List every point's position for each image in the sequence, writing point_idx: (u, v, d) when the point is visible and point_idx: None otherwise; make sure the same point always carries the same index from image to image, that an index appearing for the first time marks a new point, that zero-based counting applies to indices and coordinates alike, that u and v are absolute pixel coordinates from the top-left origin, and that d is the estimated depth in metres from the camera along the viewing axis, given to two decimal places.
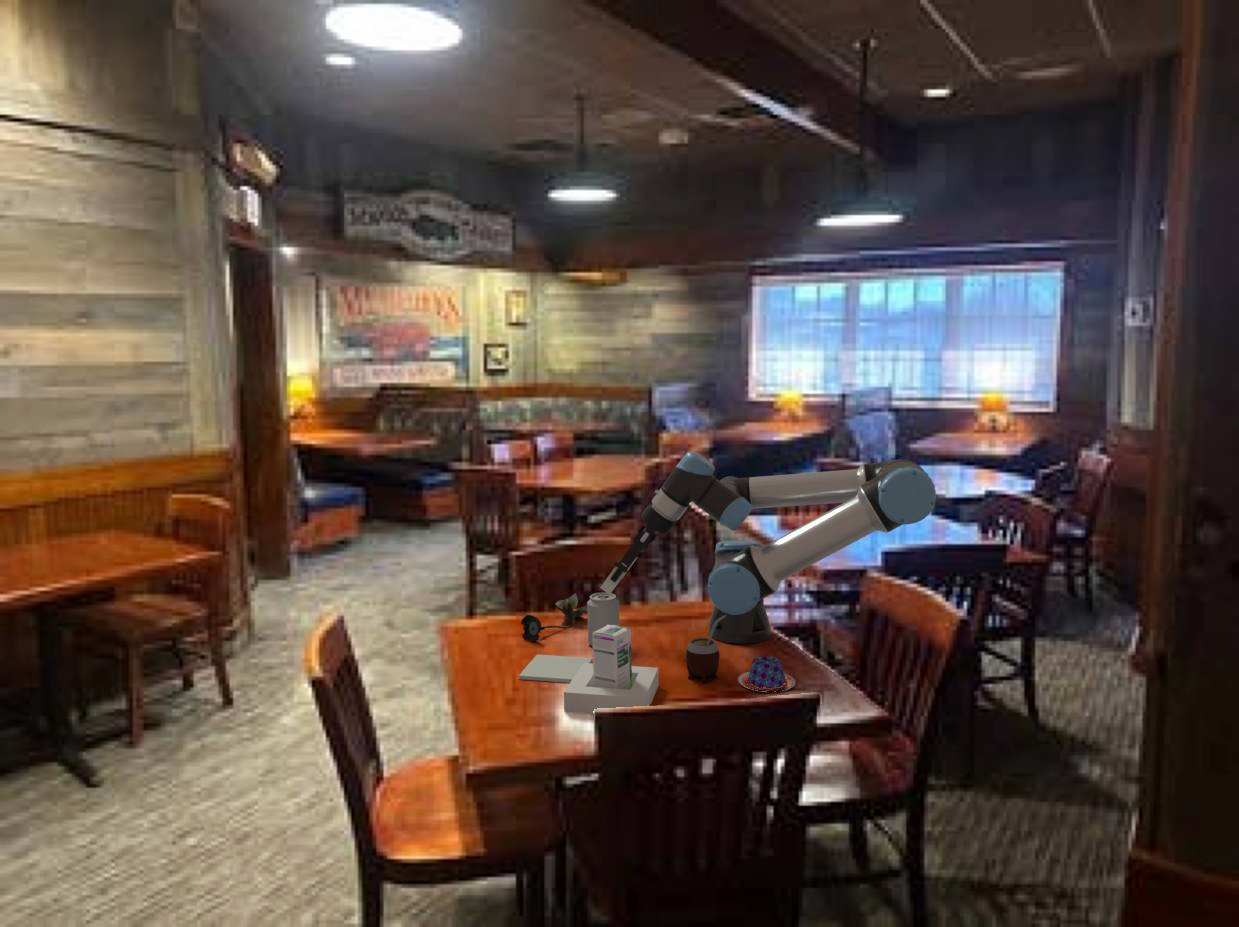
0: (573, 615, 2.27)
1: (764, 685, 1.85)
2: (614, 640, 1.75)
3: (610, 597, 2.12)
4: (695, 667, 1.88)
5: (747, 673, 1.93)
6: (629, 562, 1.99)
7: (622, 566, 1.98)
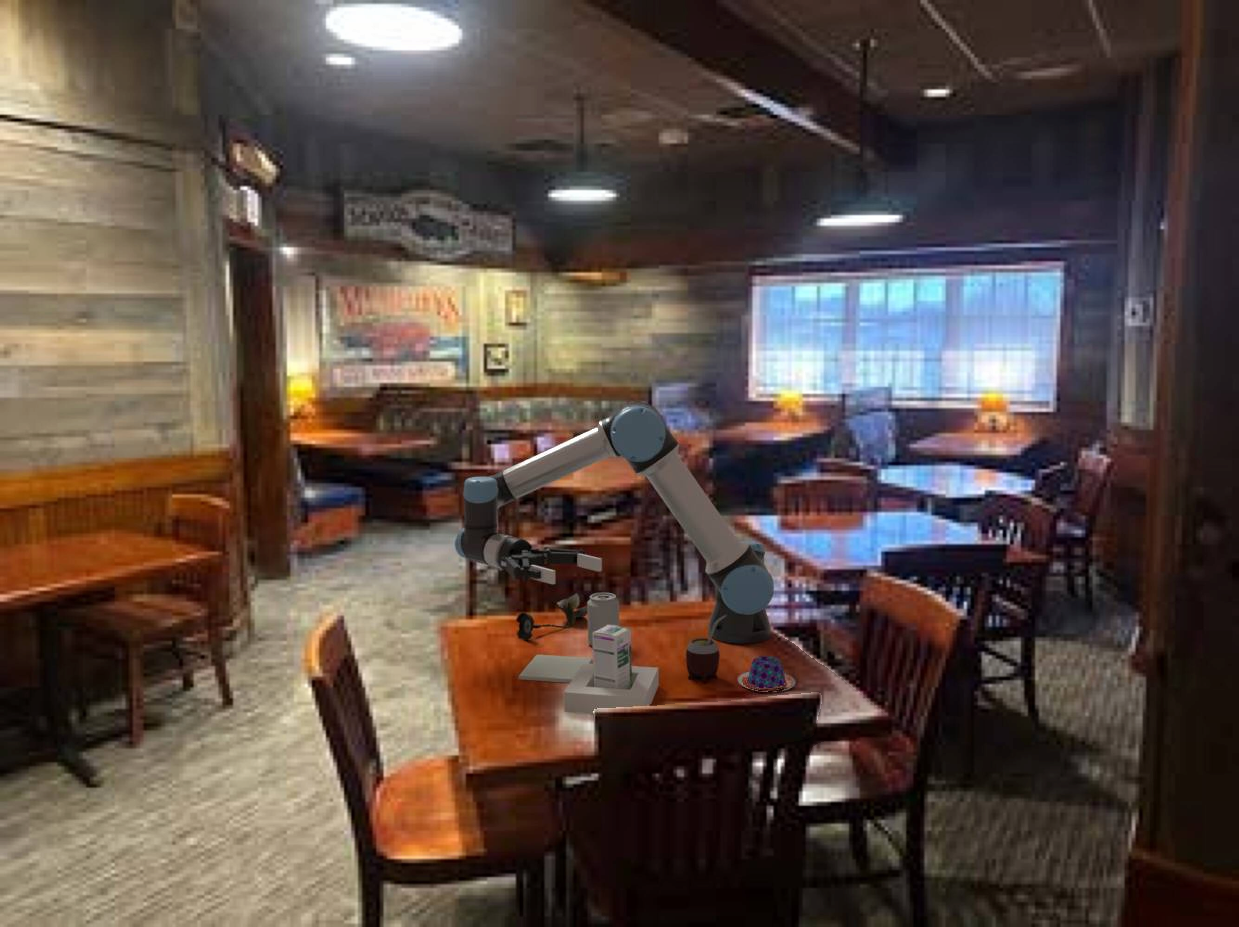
0: (573, 615, 2.27)
1: (764, 685, 1.85)
2: (614, 640, 1.75)
3: (610, 597, 2.12)
4: (695, 667, 1.88)
5: (746, 673, 1.93)
6: (512, 567, 1.84)
7: (514, 573, 1.82)
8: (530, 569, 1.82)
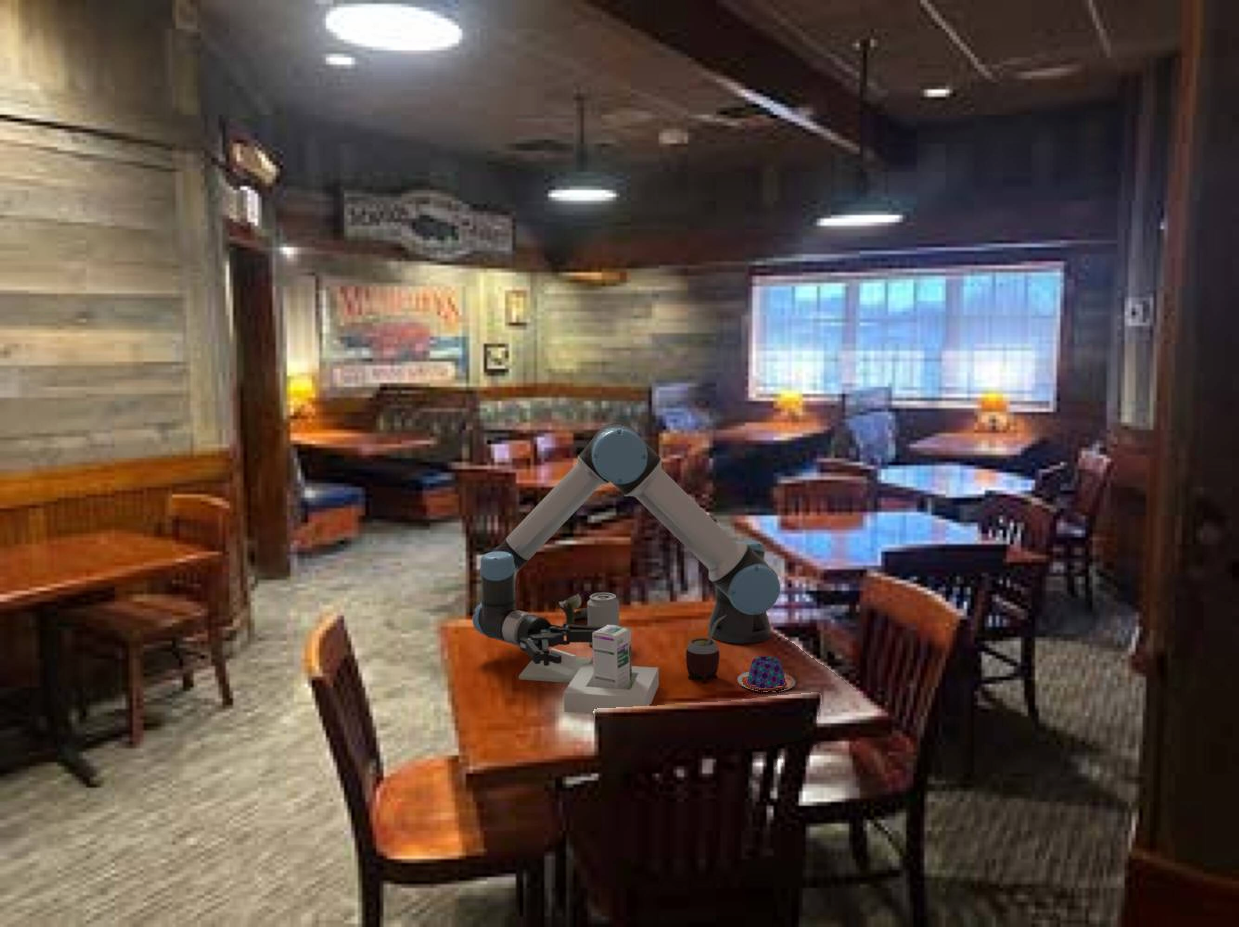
0: (572, 615, 2.27)
1: (765, 685, 1.85)
2: (614, 640, 1.75)
3: (610, 597, 2.12)
4: (695, 667, 1.88)
5: (745, 674, 1.92)
6: (532, 651, 1.81)
7: (534, 657, 1.80)
8: (550, 653, 1.80)
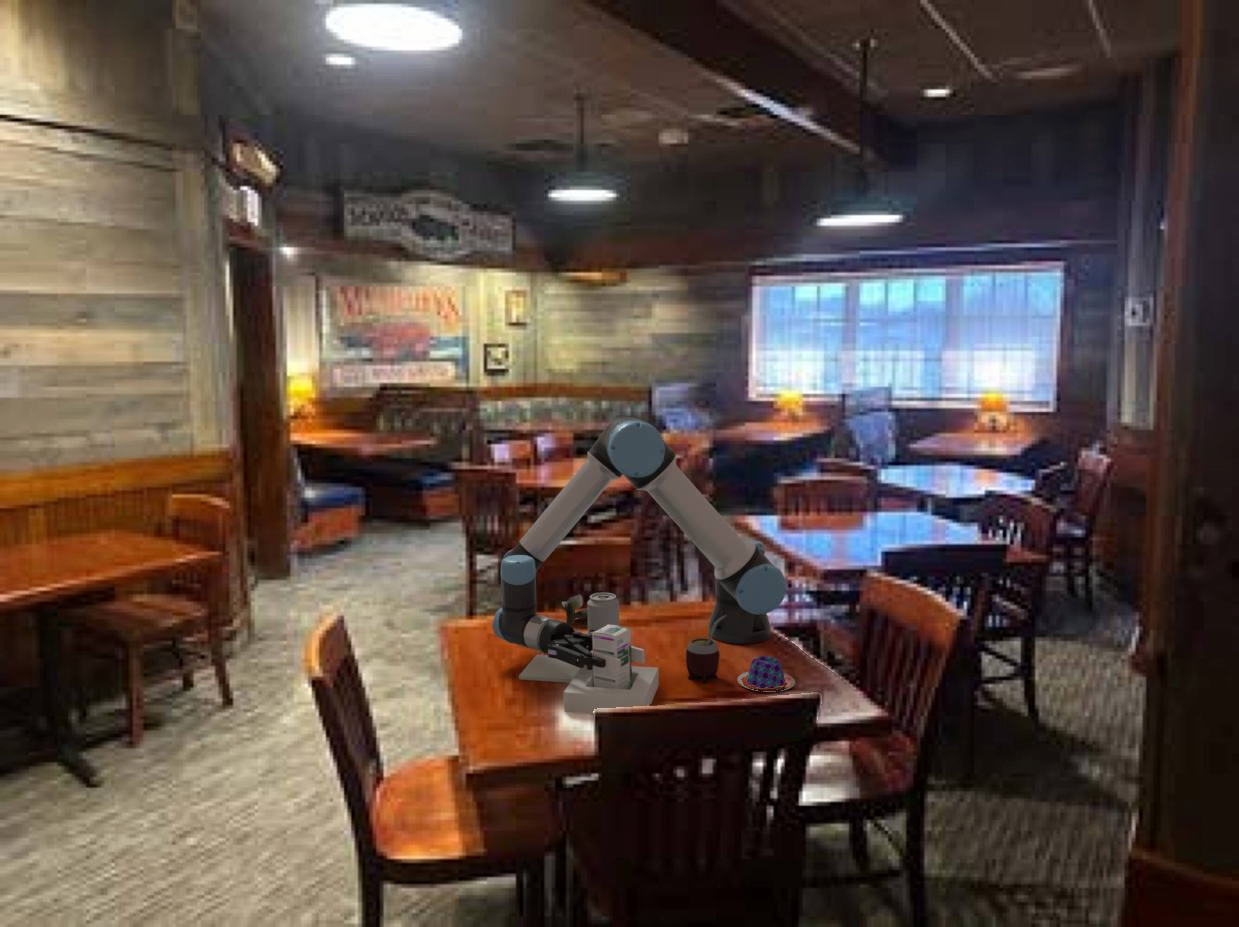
0: (572, 616, 2.26)
1: (766, 685, 1.85)
2: (614, 640, 1.75)
3: (610, 597, 2.12)
4: (695, 667, 1.88)
5: (744, 674, 1.92)
6: (572, 656, 1.78)
7: (578, 661, 1.77)
8: (594, 657, 1.77)
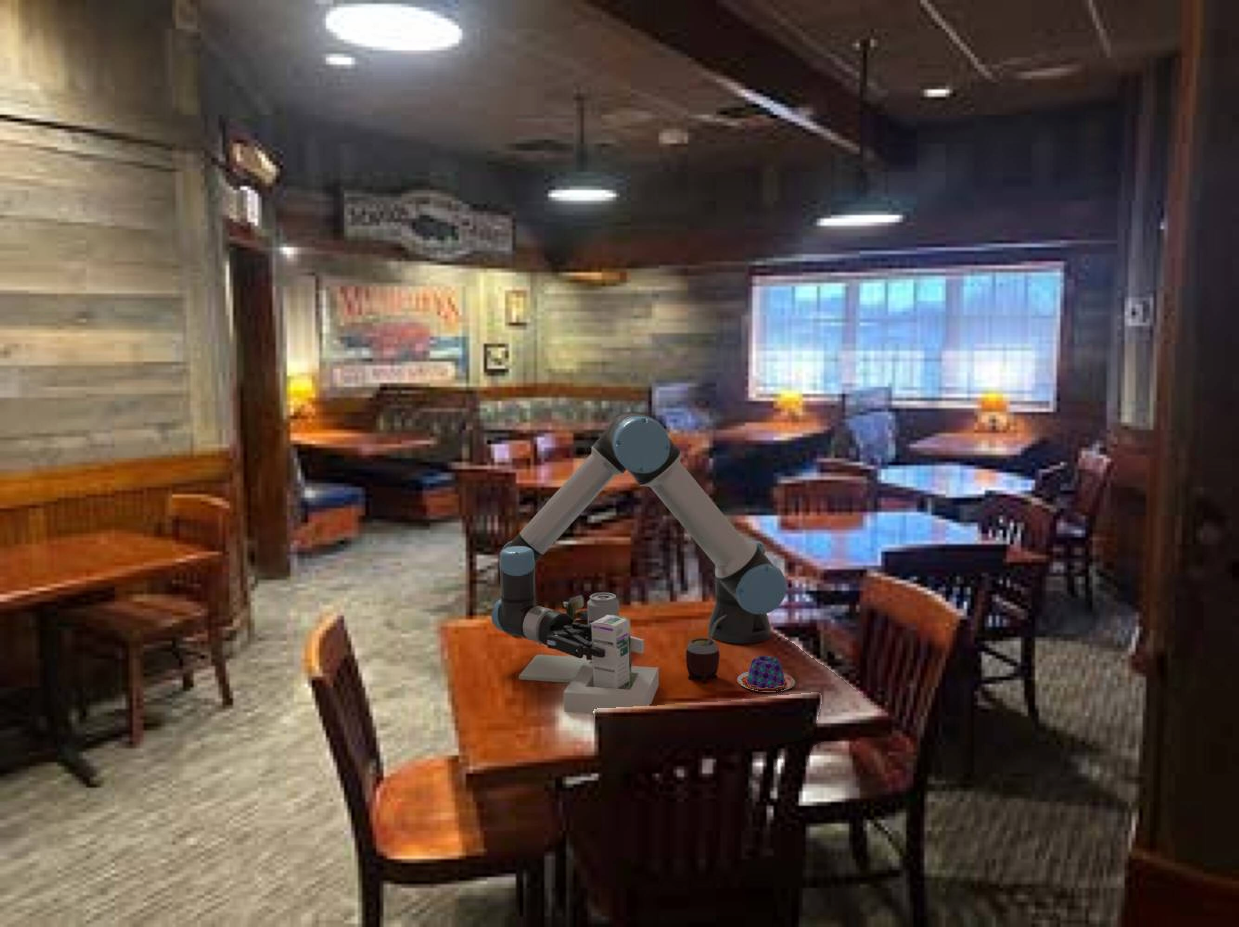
0: (572, 616, 2.26)
1: (766, 685, 1.85)
2: (614, 630, 1.75)
3: (610, 597, 2.12)
4: (695, 667, 1.88)
5: (744, 674, 1.92)
6: (572, 646, 1.77)
7: (577, 651, 1.76)
8: (593, 647, 1.76)
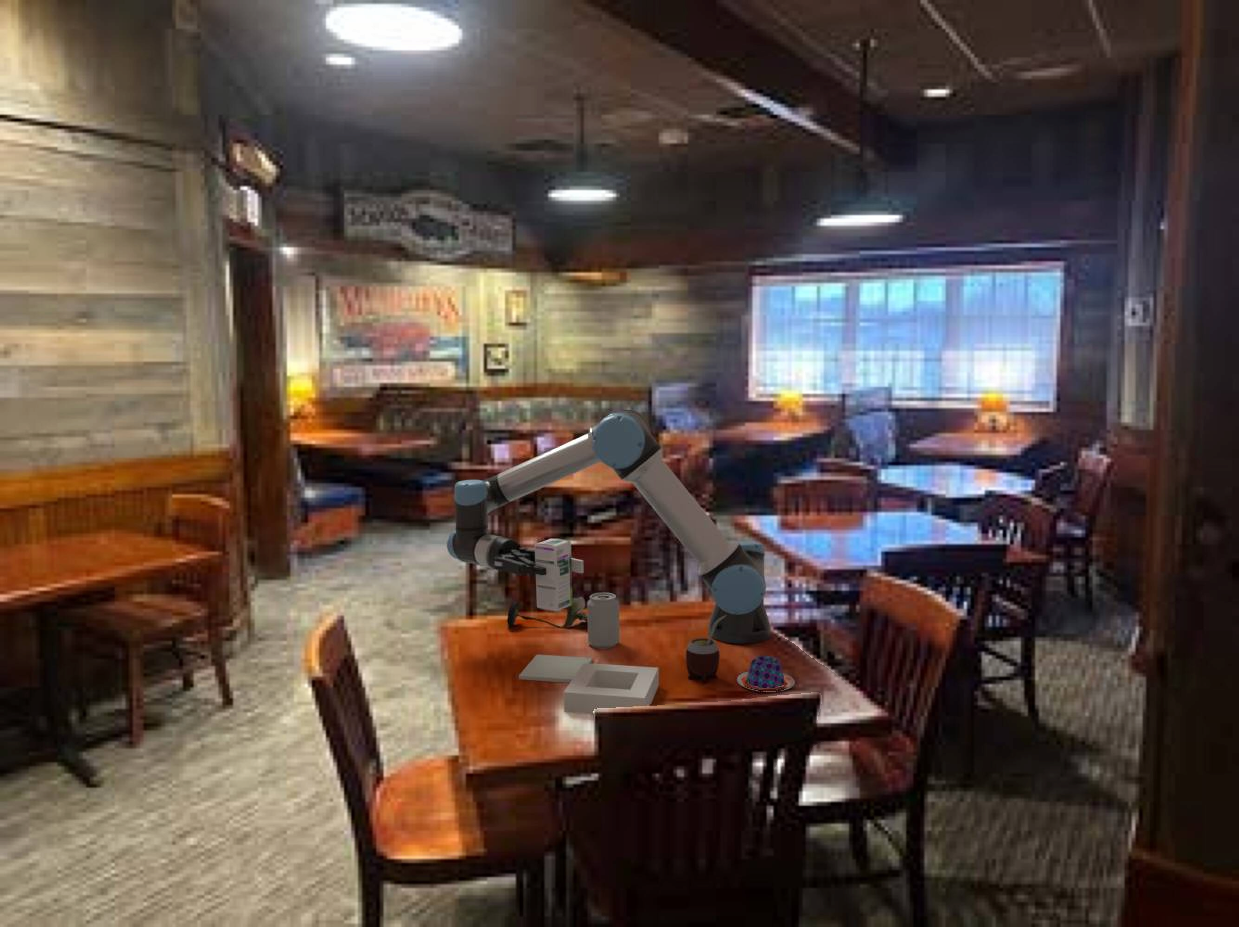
0: (570, 617, 2.25)
1: (768, 685, 1.85)
2: (554, 550, 1.89)
3: (610, 597, 2.12)
4: (695, 667, 1.88)
5: (742, 675, 1.92)
6: (516, 565, 1.91)
7: (521, 570, 1.91)
8: (536, 566, 1.91)
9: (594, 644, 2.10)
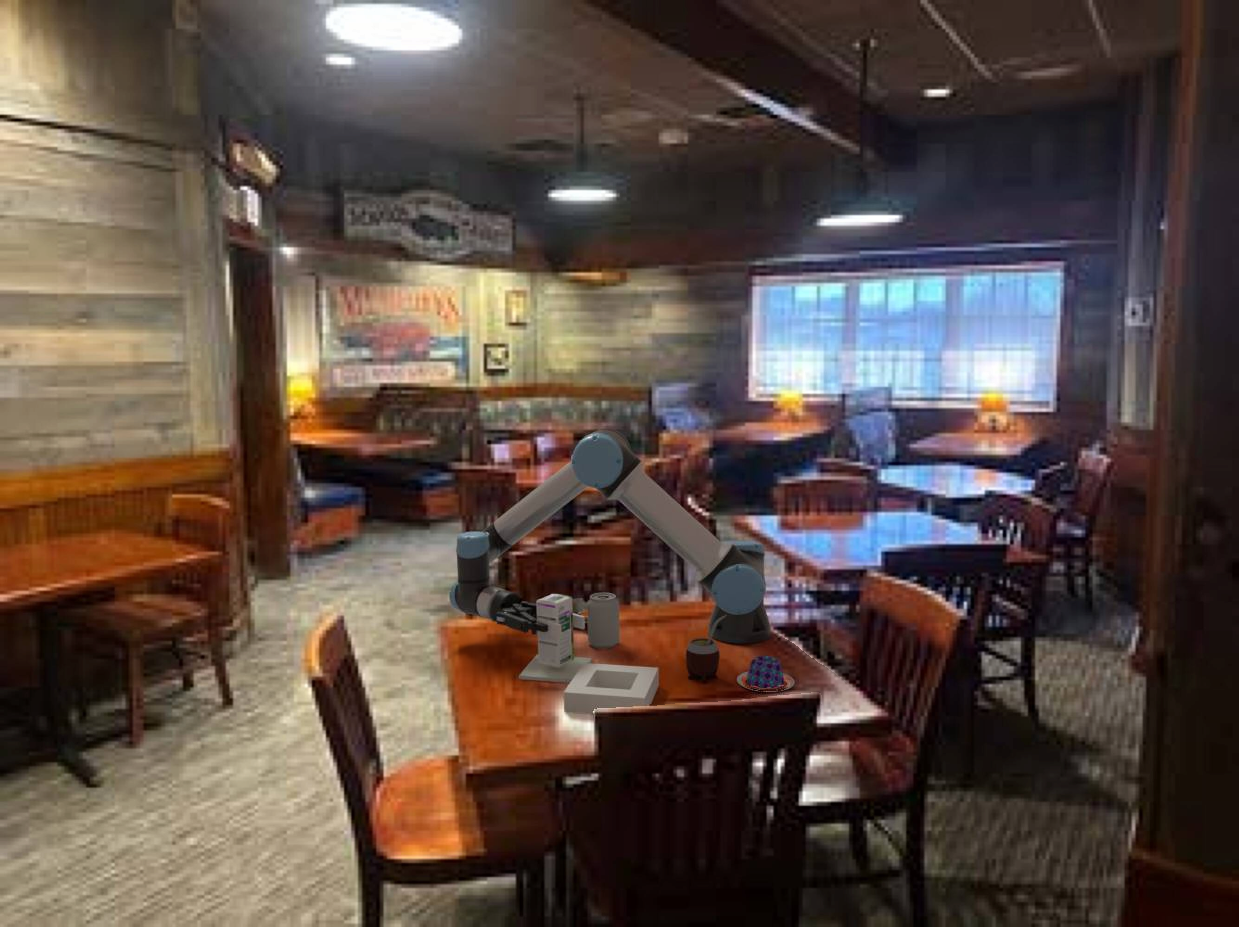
0: None
1: (768, 685, 1.85)
2: (556, 607, 1.91)
3: (610, 597, 2.12)
4: (695, 667, 1.88)
5: (741, 675, 1.91)
6: (518, 622, 1.93)
7: (523, 626, 1.92)
8: (537, 623, 1.92)
9: (594, 644, 2.10)
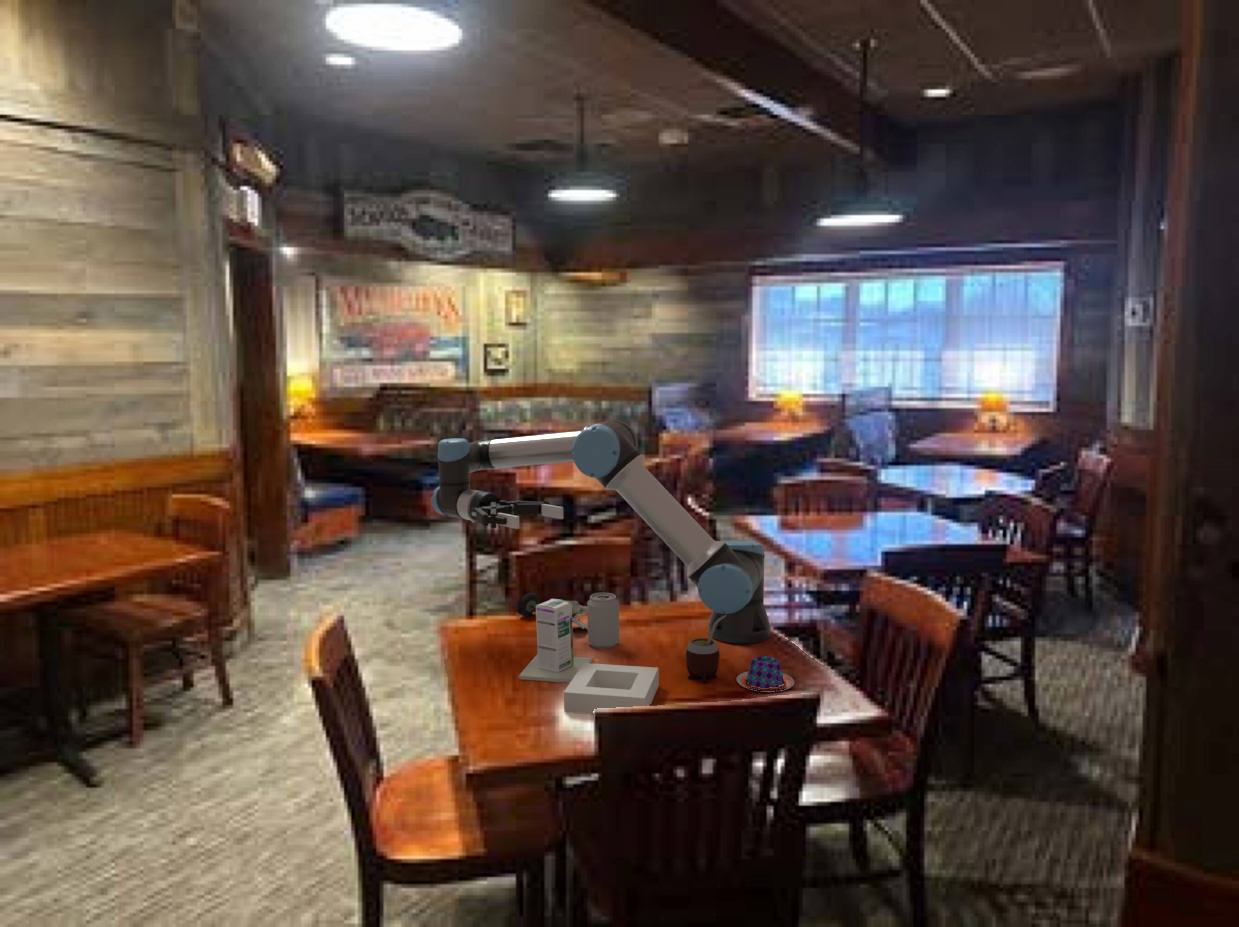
0: None
1: (770, 685, 1.85)
2: (555, 612, 1.91)
3: (610, 597, 2.12)
4: (695, 667, 1.88)
5: (740, 676, 1.91)
6: (481, 515, 2.02)
7: (483, 520, 2.01)
8: (497, 516, 2.01)
9: (594, 644, 2.10)
